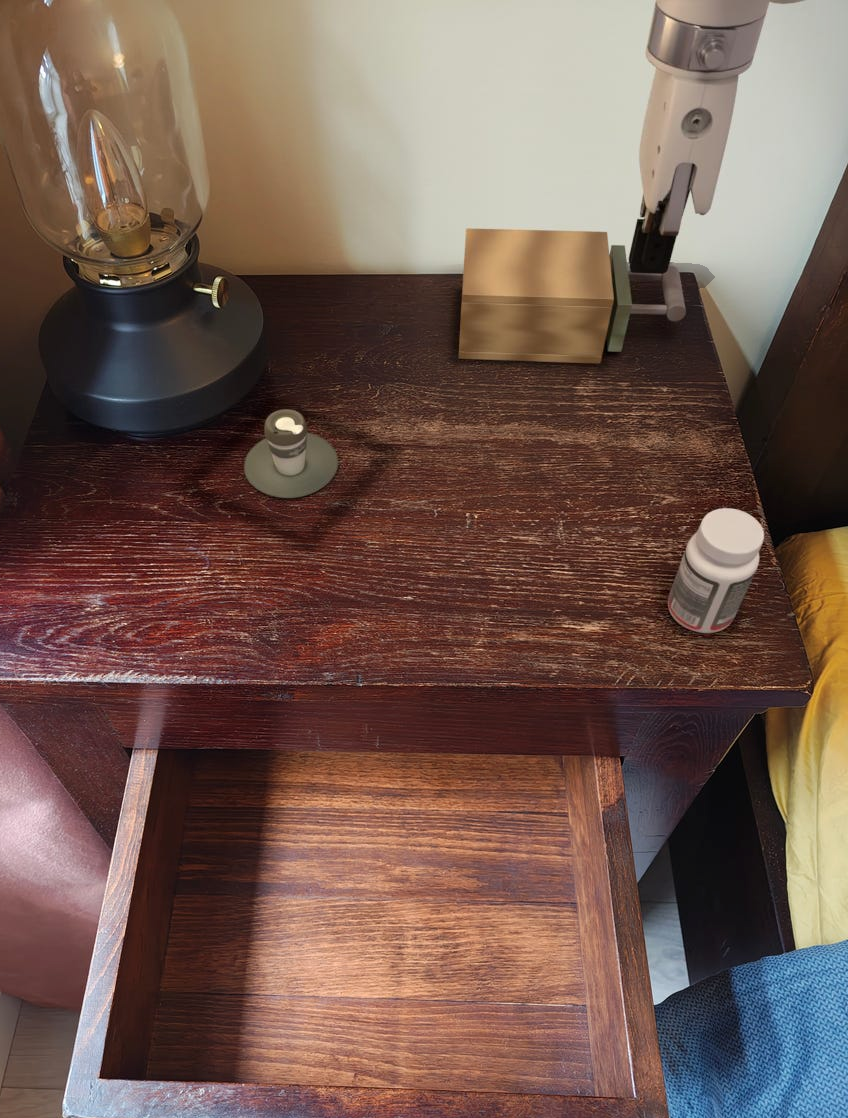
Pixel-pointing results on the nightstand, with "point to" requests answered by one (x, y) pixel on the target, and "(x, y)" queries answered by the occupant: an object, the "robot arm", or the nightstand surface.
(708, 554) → the pill bottle
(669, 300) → the drawer
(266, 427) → the coffee cup
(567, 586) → the nightstand surface
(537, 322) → the cabinet
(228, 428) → the nightstand surface
